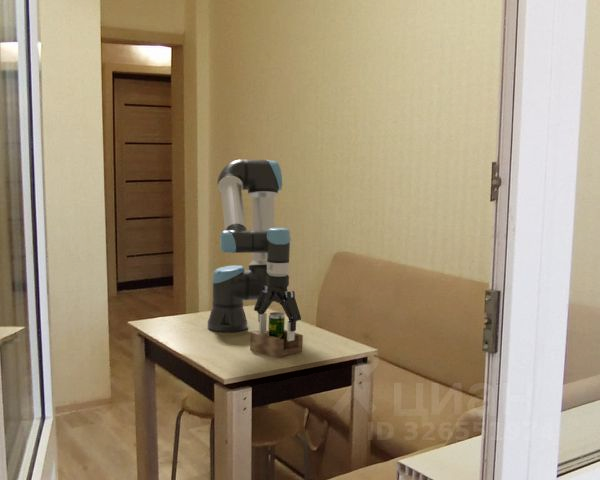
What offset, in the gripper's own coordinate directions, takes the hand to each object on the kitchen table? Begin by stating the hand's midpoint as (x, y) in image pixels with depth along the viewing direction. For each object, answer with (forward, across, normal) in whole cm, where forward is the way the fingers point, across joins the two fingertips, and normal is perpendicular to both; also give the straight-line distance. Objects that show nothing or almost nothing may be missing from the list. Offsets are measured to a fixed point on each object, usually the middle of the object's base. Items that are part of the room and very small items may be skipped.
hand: (276, 336), depth 232 cm
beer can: (+4, 0, 0) cm, 4 cm away
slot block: (+5, 0, 0) cm, 5 cm away
